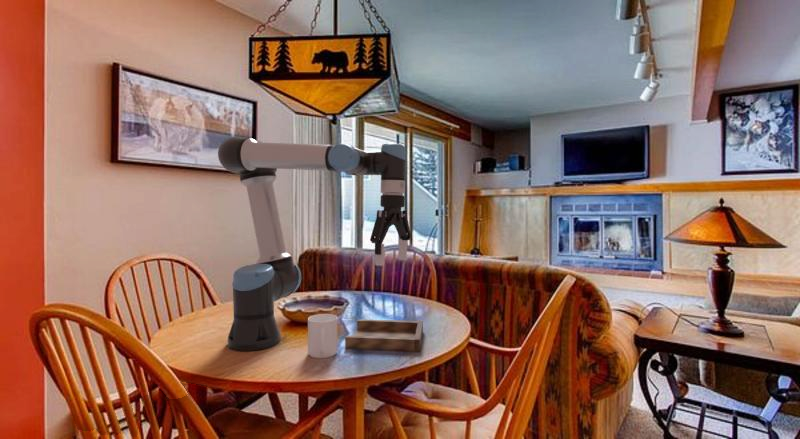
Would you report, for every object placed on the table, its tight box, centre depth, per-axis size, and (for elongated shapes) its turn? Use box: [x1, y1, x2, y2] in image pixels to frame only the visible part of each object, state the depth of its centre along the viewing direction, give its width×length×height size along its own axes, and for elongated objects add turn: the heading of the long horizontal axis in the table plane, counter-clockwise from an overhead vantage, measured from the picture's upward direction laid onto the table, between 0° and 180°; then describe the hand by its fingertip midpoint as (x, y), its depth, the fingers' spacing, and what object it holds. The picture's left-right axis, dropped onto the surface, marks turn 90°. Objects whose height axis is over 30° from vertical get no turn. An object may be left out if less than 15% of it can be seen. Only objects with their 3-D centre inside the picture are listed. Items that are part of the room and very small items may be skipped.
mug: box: [307, 313, 338, 359], centre depth 112 cm, size 12×8×10 cm
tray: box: [344, 318, 424, 353], centre depth 126 cm, size 22×18×4 cm
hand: (391, 262), depth 125 cm, fingers open, 13 cm apart
